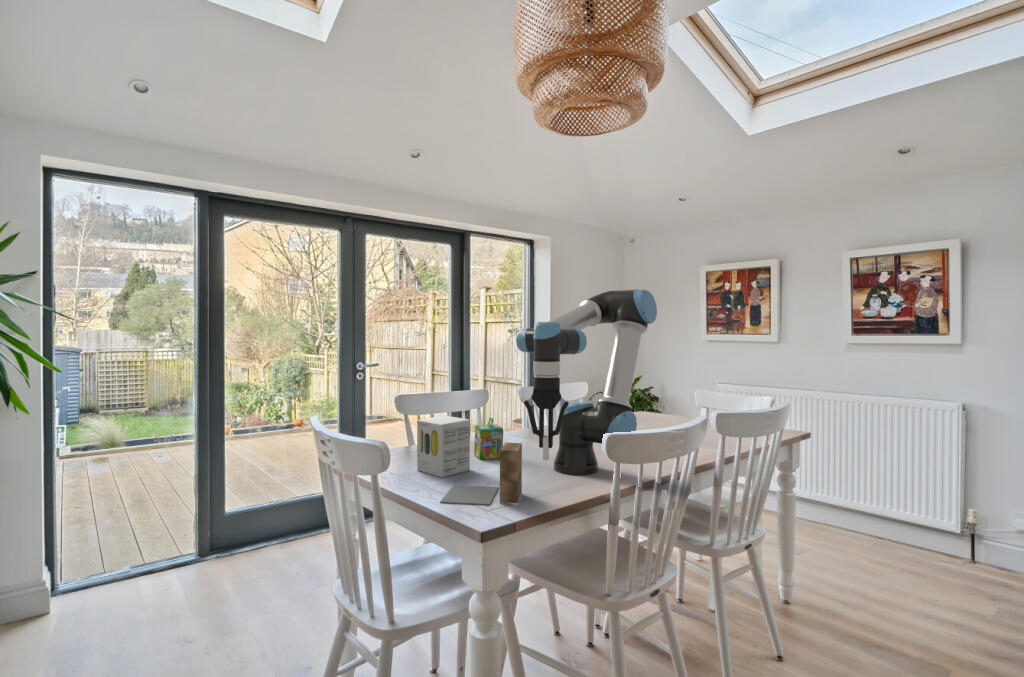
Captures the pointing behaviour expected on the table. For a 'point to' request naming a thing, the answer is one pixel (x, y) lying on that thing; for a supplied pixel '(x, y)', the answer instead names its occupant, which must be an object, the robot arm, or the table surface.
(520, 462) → the walnut block
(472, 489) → the mat
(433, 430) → the supplement box
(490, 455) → the chalk box
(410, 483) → the table surface
